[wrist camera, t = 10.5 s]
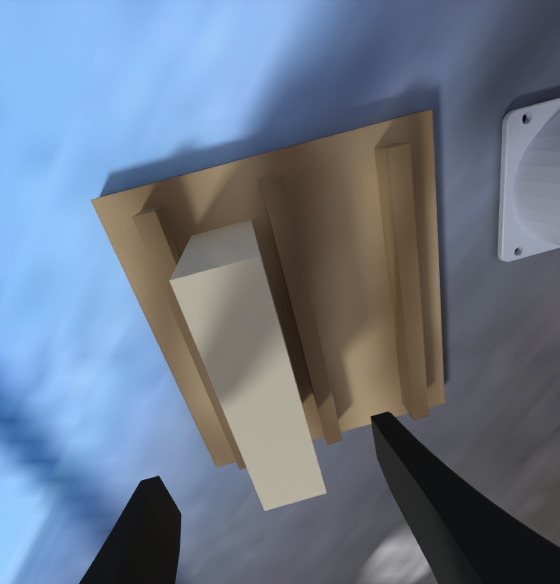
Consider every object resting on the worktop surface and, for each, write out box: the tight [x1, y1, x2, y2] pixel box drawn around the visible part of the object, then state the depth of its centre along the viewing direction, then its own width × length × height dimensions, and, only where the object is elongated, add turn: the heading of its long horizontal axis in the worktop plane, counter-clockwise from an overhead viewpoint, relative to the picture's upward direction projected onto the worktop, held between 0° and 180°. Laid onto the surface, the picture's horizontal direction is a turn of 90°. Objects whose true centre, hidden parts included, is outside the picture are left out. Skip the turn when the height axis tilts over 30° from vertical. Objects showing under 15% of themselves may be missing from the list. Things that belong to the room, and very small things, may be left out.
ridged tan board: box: [91, 109, 445, 469], centre depth 19 cm, size 16×18×2 cm
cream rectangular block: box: [169, 220, 326, 511], centre depth 16 cm, size 3×12×6 cm, turn 14°
